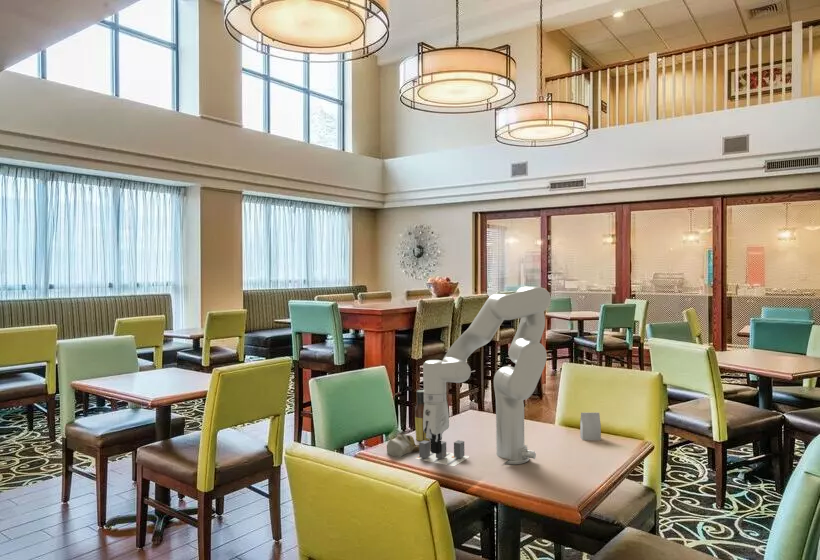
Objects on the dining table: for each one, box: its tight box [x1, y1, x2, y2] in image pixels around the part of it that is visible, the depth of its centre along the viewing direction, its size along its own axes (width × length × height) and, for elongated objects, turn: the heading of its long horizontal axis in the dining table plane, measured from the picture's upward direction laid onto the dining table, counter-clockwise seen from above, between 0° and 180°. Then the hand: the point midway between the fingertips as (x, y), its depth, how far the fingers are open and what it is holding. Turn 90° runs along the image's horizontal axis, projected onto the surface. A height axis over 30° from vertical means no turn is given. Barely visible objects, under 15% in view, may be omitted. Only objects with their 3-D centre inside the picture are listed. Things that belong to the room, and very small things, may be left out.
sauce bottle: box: [414, 389, 431, 442], centre depth 214 cm, size 6×6×20 cm
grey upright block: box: [579, 412, 602, 441], centre depth 216 cm, size 4×7×10 cm, turn 87°
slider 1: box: [418, 440, 431, 459], centre depth 192 cm, size 2×3×5 cm
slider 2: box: [436, 440, 447, 459], centre depth 192 cm, size 2×3×5 cm
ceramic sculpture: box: [386, 431, 419, 457], centre depth 200 cm, size 11×9×15 cm
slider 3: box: [453, 439, 465, 458], centre depth 192 cm, size 2×3×5 cm
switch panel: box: [414, 449, 470, 467], centre depth 192 cm, size 15×11×2 cm
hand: (436, 452), depth 189 cm, fingers closed
